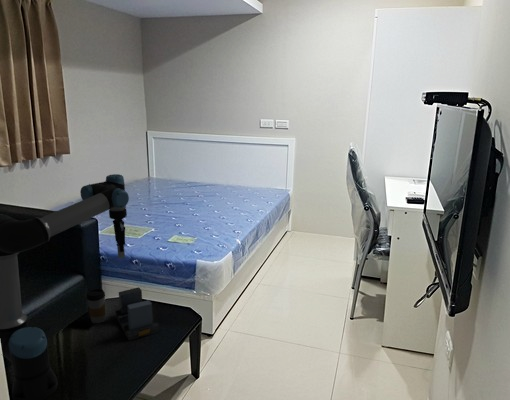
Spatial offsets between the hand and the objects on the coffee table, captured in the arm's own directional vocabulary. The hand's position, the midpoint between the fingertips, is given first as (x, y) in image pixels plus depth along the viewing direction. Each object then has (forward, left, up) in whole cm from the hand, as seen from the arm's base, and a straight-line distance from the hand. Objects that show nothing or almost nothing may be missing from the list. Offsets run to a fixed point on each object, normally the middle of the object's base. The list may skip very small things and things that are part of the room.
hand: (121, 257), depth 194 cm
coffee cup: (-12, +6, -33) cm, 35 cm away
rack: (+3, -6, -32) cm, 33 cm away
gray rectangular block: (+3, -14, -31) cm, 34 cm away
